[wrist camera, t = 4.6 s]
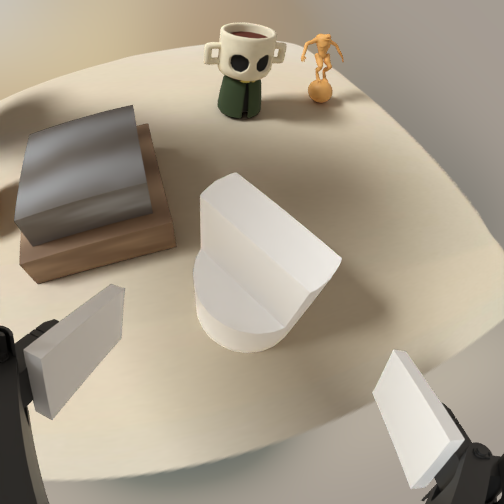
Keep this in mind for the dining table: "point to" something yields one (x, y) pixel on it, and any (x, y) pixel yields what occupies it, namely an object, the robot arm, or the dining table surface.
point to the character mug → (243, 65)
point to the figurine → (321, 88)
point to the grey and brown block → (90, 196)
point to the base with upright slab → (254, 267)
